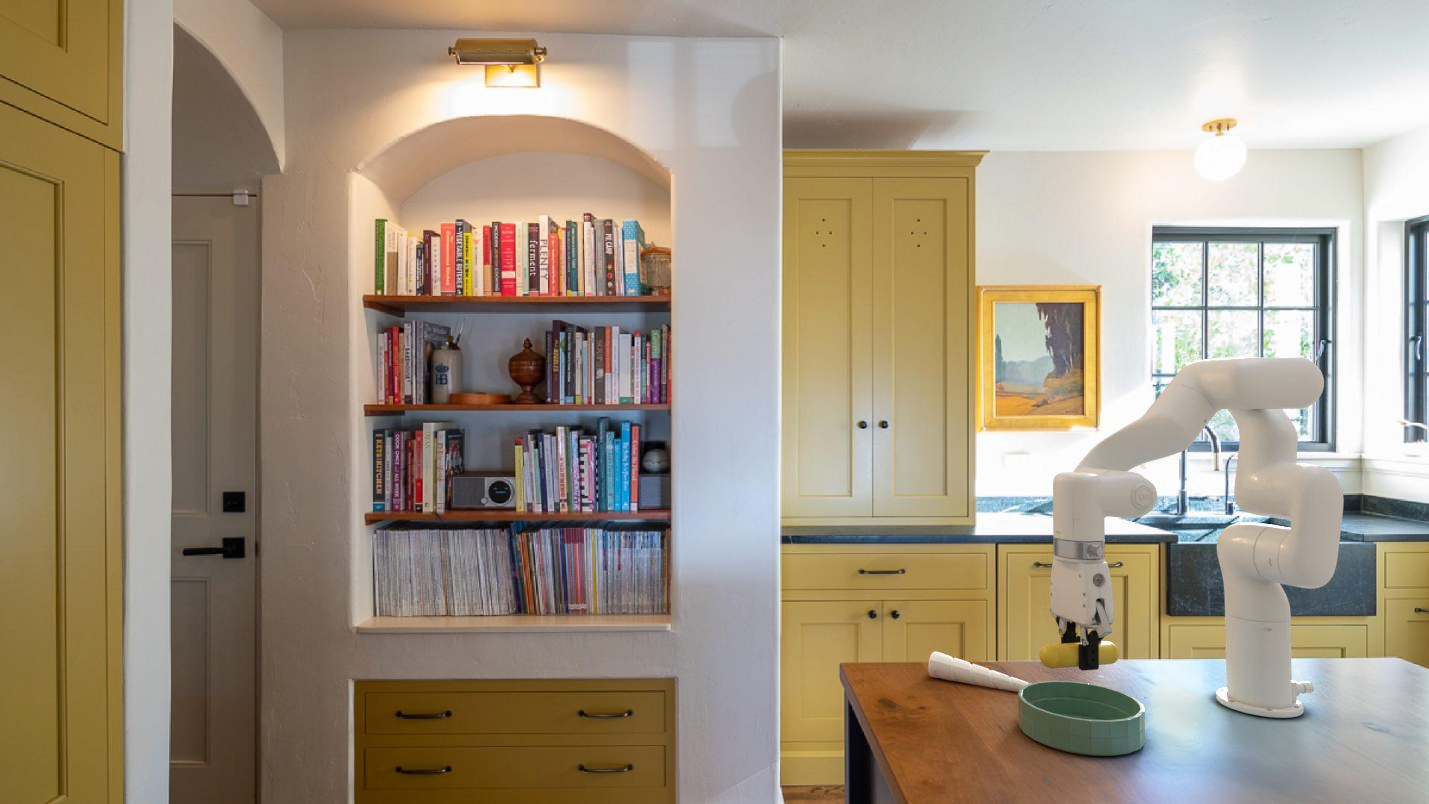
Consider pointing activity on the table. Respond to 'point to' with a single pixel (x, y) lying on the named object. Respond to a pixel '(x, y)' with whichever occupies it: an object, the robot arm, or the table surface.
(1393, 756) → the table surface
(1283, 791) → the table surface
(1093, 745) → the green round dish
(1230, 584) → the robot arm
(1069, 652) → the yellow rounded capsule
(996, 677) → the unicorn horn
